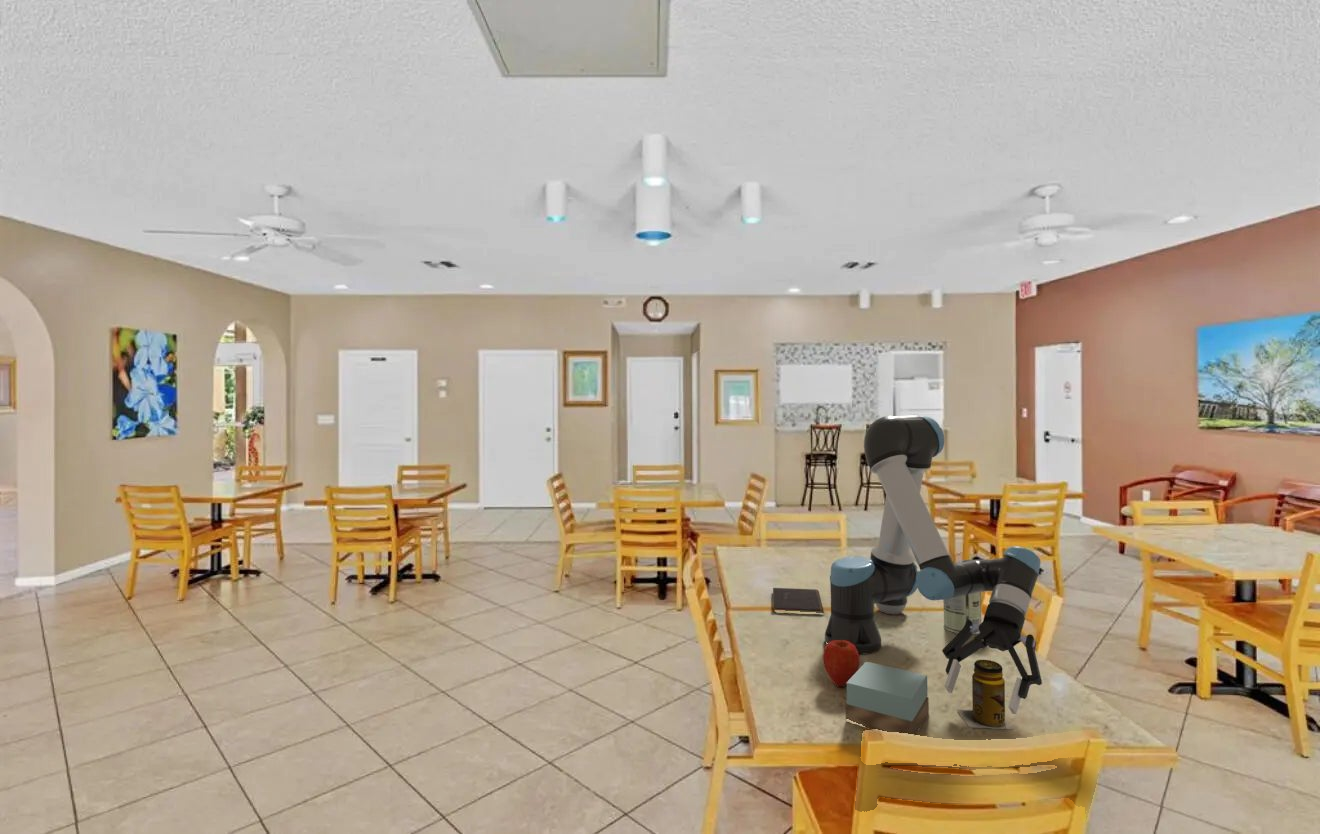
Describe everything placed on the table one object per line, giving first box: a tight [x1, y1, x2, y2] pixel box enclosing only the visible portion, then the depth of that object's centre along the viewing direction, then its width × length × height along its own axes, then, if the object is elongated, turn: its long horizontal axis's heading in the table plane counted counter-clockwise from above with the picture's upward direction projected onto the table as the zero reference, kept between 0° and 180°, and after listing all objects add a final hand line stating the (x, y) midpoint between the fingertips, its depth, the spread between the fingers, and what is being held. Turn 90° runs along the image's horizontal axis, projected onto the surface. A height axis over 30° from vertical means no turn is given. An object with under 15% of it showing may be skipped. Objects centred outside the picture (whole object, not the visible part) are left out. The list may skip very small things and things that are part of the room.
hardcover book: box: [772, 587, 825, 614], centre depth 209 cm, size 16×23×2 cm
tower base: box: [845, 696, 930, 735], centre depth 130 cm, size 13×13×4 cm
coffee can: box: [942, 592, 982, 636], centre depth 182 cm, size 10×10×14 cm
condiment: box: [956, 659, 1014, 730], centre depth 129 cm, size 7×8×12 cm
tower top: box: [846, 661, 928, 722], centre depth 130 cm, size 13×13×4 cm
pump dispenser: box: [875, 597, 908, 615], centre depth 199 cm, size 10×10×15 cm
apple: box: [822, 640, 861, 687], centre depth 146 cm, size 9×8×11 cm
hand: (979, 700), depth 127 cm, fingers open, 12 cm apart
